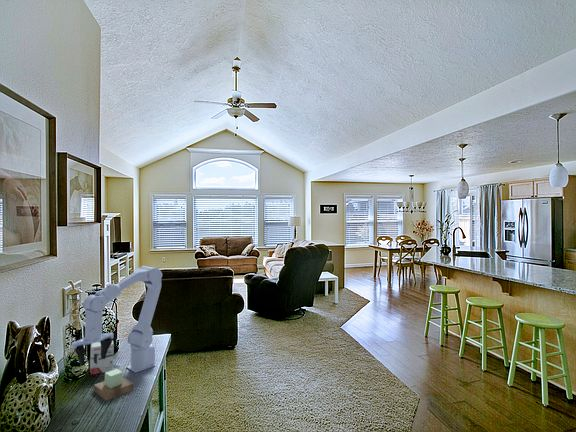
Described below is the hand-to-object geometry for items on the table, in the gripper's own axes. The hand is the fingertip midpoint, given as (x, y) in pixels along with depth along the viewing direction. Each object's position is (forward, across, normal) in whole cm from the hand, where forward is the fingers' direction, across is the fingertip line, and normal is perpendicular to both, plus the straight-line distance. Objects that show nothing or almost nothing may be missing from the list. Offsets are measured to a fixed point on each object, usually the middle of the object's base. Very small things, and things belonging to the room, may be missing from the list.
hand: (92, 361), depth 130 cm
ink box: (+10, +8, +11) cm, 17 cm away
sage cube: (+7, +4, -9) cm, 12 cm away
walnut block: (+10, +4, -9) cm, 14 cm away
